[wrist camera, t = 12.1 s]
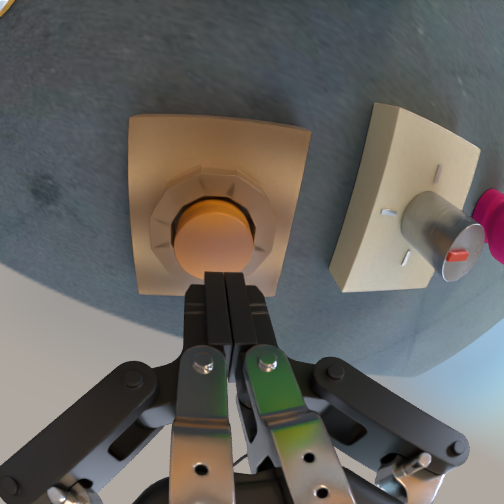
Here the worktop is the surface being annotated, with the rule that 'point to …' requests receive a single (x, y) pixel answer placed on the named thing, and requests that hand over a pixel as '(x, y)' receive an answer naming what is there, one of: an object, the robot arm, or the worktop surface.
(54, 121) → the worktop surface
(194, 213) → the light button
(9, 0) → the cup
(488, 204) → the pepper mill
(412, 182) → the dimmer panel
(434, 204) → the dimmer knob
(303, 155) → the switch block
